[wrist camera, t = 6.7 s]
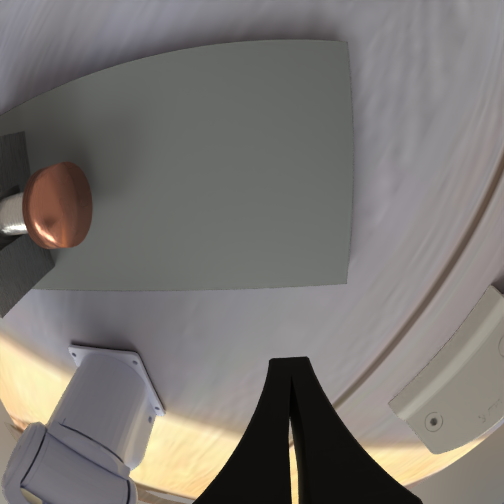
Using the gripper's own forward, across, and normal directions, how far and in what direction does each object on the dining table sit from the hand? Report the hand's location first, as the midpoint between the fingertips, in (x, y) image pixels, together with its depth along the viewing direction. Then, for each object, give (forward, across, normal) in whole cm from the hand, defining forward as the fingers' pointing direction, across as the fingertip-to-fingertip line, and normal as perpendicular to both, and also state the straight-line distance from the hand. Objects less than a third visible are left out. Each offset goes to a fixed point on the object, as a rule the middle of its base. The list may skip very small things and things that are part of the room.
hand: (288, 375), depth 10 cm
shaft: (+7, +18, -6) cm, 20 cm away
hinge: (+10, -18, +12) cm, 24 cm away
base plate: (+9, +9, -6) cm, 14 cm away
